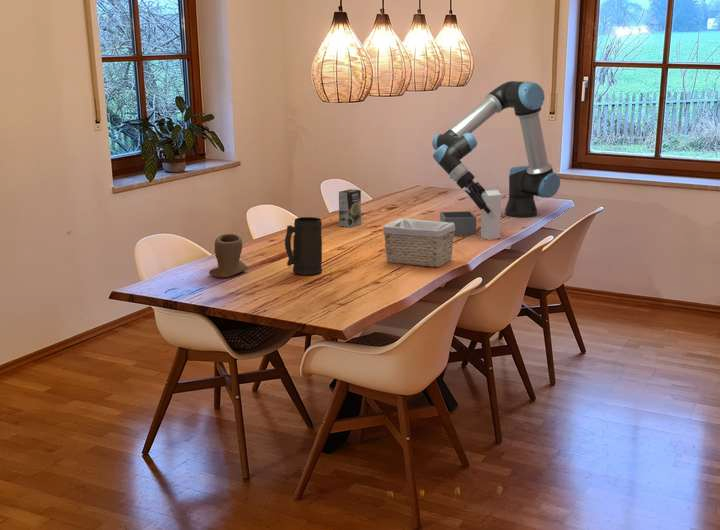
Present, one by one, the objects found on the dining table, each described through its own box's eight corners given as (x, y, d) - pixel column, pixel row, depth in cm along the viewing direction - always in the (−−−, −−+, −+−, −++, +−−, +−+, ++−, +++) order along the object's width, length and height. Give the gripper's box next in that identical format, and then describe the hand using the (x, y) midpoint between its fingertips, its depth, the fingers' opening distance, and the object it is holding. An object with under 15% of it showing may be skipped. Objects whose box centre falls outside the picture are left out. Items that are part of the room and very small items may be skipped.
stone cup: (228, 281, 305) (226, 240, 301) (204, 277, 311) (201, 236, 307) (257, 271, 316) (254, 232, 313) (233, 267, 323) (231, 228, 319)
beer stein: (308, 266, 322) (306, 214, 317) (329, 271, 315) (327, 217, 310) (279, 275, 311) (276, 221, 306) (300, 280, 304) (298, 225, 299)
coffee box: (349, 228, 387) (349, 192, 383) (338, 226, 391) (337, 191, 386) (362, 224, 394) (361, 189, 390) (351, 222, 398) (350, 188, 393)
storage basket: (381, 262, 326) (381, 225, 322) (400, 253, 340) (400, 217, 336) (439, 269, 314) (439, 230, 311) (456, 259, 328) (456, 222, 324)
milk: (480, 237, 363) (481, 186, 358) (493, 236, 366) (493, 184, 360) (487, 240, 358) (488, 188, 352) (500, 238, 360) (501, 186, 354)
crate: (470, 228, 380) (470, 211, 378) (476, 235, 367) (476, 217, 364) (440, 229, 379) (440, 212, 377) (444, 236, 366) (444, 218, 364)
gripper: (463, 178, 371) (498, 217, 369) (448, 186, 353) (485, 226, 350) (475, 166, 368) (511, 205, 365) (460, 174, 349) (498, 215, 347)
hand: (498, 216), depth 358 cm, fingers closed on milk, 8 cm apart
